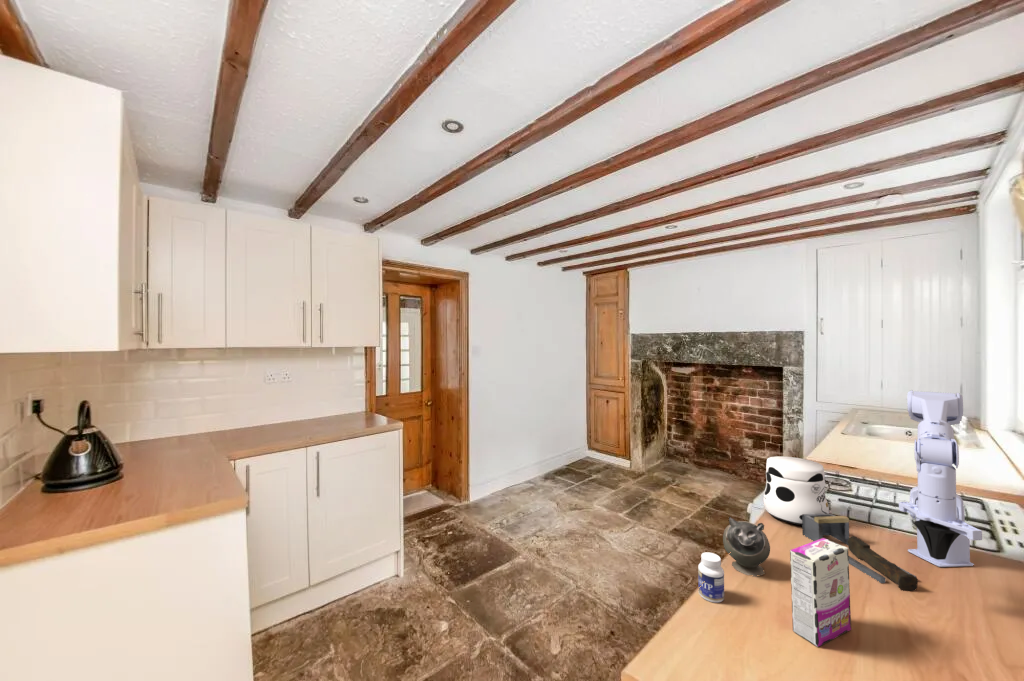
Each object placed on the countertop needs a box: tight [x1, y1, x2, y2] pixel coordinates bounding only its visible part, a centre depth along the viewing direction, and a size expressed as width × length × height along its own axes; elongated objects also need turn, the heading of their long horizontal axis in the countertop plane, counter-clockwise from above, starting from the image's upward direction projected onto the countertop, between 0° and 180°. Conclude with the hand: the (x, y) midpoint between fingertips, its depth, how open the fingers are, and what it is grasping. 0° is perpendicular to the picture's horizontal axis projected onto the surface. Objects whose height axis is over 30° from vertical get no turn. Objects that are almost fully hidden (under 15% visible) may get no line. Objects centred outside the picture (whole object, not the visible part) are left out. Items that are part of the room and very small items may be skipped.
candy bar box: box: [789, 537, 852, 648], centre depth 79 cm, size 11×5×16 cm, turn 114°
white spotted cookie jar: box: [762, 455, 830, 526], centre depth 129 cm, size 17×17×18 cm
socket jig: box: [801, 512, 918, 584], centre depth 107 cm, size 9×24×7 cm, turn 3°
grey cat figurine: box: [722, 516, 771, 577], centre depth 101 cm, size 10×12×10 cm
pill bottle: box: [697, 551, 725, 603], centre depth 91 cm, size 5×5×9 cm
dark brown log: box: [847, 535, 919, 592], centre depth 101 cm, size 19×4×5 cm, turn 172°
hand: (937, 557), depth 86 cm, fingers closed
